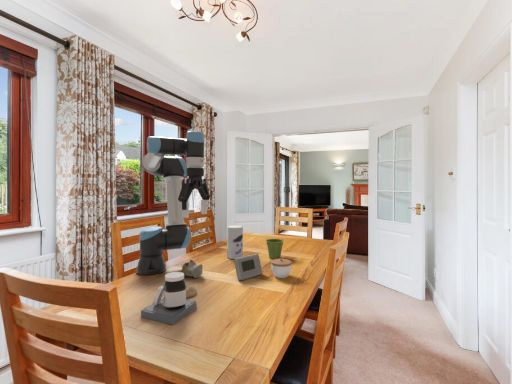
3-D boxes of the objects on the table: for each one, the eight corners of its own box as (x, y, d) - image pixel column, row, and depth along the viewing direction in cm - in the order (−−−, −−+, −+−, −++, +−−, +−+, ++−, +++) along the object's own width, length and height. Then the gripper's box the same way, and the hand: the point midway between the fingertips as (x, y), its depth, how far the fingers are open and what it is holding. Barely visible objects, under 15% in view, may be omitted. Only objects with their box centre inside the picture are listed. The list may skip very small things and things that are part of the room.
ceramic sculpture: (194, 263, 133) (171, 261, 140) (195, 281, 133) (172, 278, 140) (208, 258, 143) (185, 256, 150) (208, 275, 143) (186, 272, 150)
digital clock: (237, 281, 134) (237, 260, 133) (230, 276, 142) (230, 255, 141) (266, 276, 142) (266, 256, 141) (257, 271, 150) (257, 252, 149)
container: (236, 260, 171) (236, 228, 170) (224, 257, 176) (224, 226, 175) (245, 256, 179) (245, 226, 178) (233, 254, 184) (233, 224, 184)
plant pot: (287, 257, 179) (287, 239, 178) (278, 261, 169) (278, 243, 168) (271, 254, 185) (271, 237, 185) (262, 258, 175) (262, 240, 175)
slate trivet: (140, 317, 98) (140, 310, 98) (167, 301, 111) (167, 295, 111) (172, 325, 93) (172, 317, 93) (196, 307, 106) (196, 300, 106)
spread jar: (188, 309, 99) (187, 277, 98) (154, 316, 94) (154, 282, 93) (181, 296, 109) (181, 268, 109) (151, 302, 105) (151, 271, 104)
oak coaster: (167, 296, 116) (167, 294, 116) (182, 288, 125) (182, 286, 125) (187, 300, 112) (187, 298, 112) (201, 291, 122) (201, 289, 122)
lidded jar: (294, 274, 145) (294, 257, 144) (287, 281, 135) (288, 262, 135) (275, 271, 149) (275, 254, 149) (267, 277, 140) (267, 259, 139)
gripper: (184, 166, 107) (184, 219, 108) (217, 168, 130) (217, 213, 131) (169, 166, 110) (169, 218, 111) (204, 168, 133) (204, 212, 134)
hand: (195, 215), depth 121 cm, fingers open, 13 cm apart
